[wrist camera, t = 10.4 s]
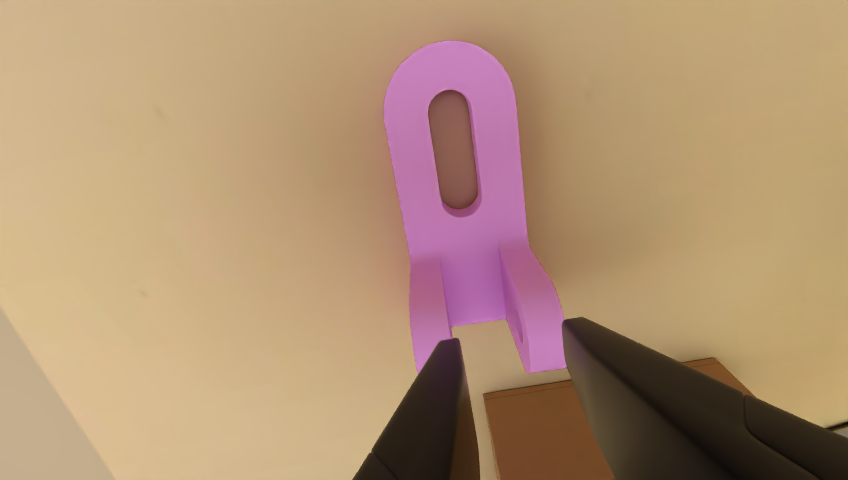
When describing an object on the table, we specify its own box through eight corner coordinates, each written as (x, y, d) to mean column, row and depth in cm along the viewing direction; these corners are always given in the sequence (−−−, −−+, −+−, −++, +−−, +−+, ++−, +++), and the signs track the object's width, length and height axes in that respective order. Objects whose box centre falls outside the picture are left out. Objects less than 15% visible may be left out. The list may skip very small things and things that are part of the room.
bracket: (527, 301, 23) (570, 388, 17) (423, 316, 23) (424, 408, 17) (503, 32, 19) (548, 8, 12) (374, 55, 19) (351, 43, 12)
